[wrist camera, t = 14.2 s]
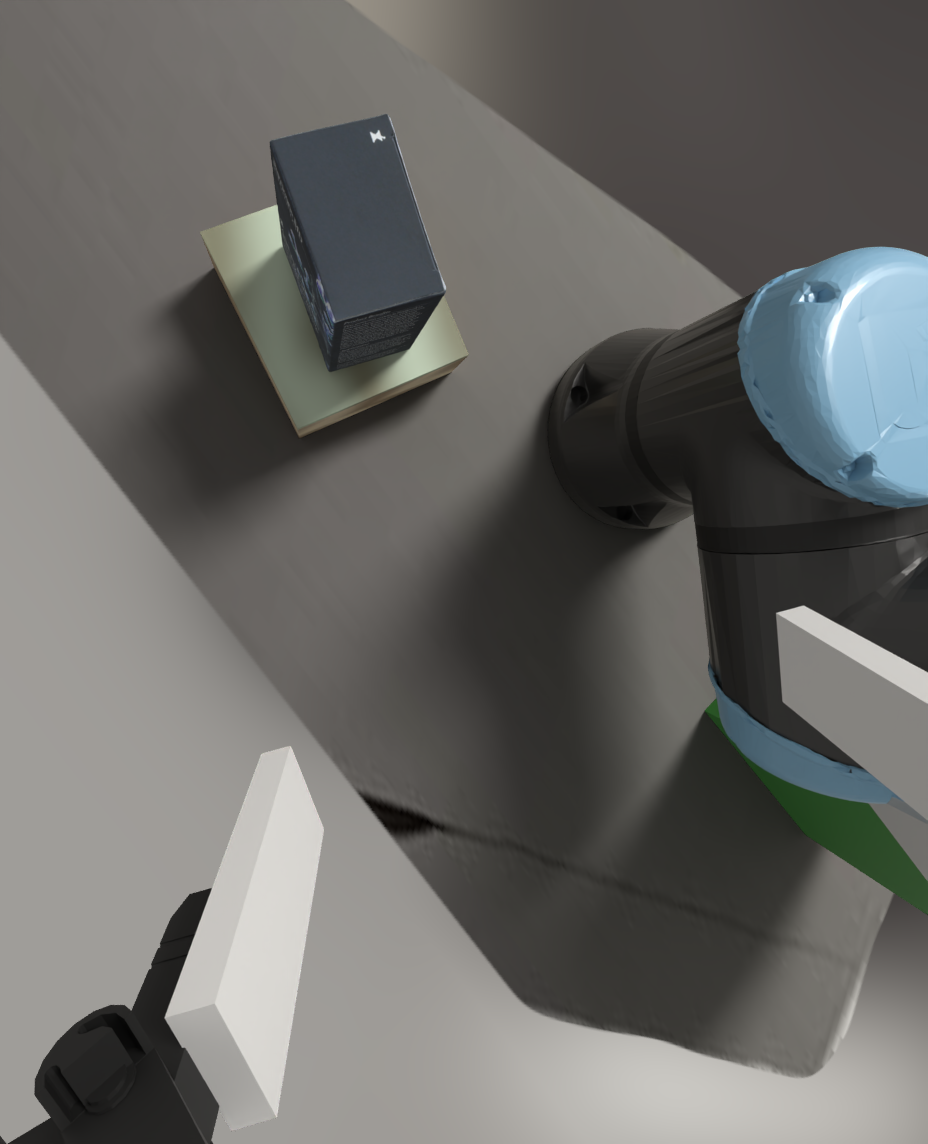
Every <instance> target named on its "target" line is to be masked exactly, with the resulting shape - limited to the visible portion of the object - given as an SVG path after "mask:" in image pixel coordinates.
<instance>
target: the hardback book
mask: <svg viewBox="0 0 928 1144" xmlns="http://www.w3.org/2000/svg"><path fill="white" fill-rule="evenodd" d="M705 712H706V713H707V714H708V716H709V717H710V718H711V719H712V720H713V722H714V723H715V724H716V725H717V727H718V728H719V729H720V730H721V732H722V733H723V734H724V735H725V736H726V738H727V739H728V740H729V741H730V743H731V744H732V745H733V746H734V748H735V749H736V750H737V751H738V752H739V754H740V755H741V756H742V757H743V759H744V760H745V761H746V762H747V763H748V765H749V766H750V767H751V768H752V770H753V771H754V772H755V773H756V775H757V776H758V777H759V778H760V779H761V781H762V782H763V783H764V784H765V786H766V787H767V788H768V789H769V791H770V792H771V793H772V794H773V795H774V797H775V798H776V799H777V800H778V802H779V803H780V804H781V805H782V806H783V808H784V809H785V810H786V811H787V813H788V814H789V815H790V816H791V818H792V819H793V820H794V821H795V822H796V824H797V825H798V826H799V827H800V829H801V830H802V831H803V832H804V834H805V835H806V836H808V837H810V838H811V839H813V840H814V841H816V842H817V843H819V844H820V845H822V846H823V847H825V848H826V849H828V850H829V851H831V852H832V853H834V854H835V855H837V856H838V857H840V858H841V859H843V860H845V861H846V862H848V863H849V864H851V865H852V866H854V867H855V868H857V869H858V870H860V871H861V872H863V873H864V874H866V875H867V876H869V877H870V878H872V879H873V880H875V881H876V882H878V883H880V884H881V885H883V886H884V887H886V888H887V889H889V890H890V891H892V892H893V893H895V894H896V895H898V896H899V897H901V898H903V899H904V900H906V901H907V902H909V903H910V904H912V905H913V906H915V907H916V908H918V909H919V910H921V911H922V912H924V913H925V914H927V915H928V820H926V819H925V818H924V817H923V816H922V815H920V814H919V813H918V812H917V811H915V810H914V809H913V808H912V807H911V806H909V805H908V804H907V803H906V802H903V801H901V800H899V799H897V798H893V797H891V800H890V801H889V802H888V803H887V804H874V803H864V802H856V801H849V800H844V799H839V798H835V797H831V796H827V795H823V794H820V793H817V792H813V791H810V790H807V789H804V788H802V787H799V786H796V785H794V784H792V783H789V782H787V781H785V780H783V779H781V778H779V777H777V776H775V775H773V774H771V773H769V772H767V771H766V770H764V769H762V768H761V767H759V766H758V765H756V764H755V763H754V762H752V761H751V760H750V759H748V758H747V757H746V756H745V755H744V754H743V753H742V752H741V751H740V749H739V748H738V747H737V745H736V744H735V743H734V742H733V741H732V740H731V739H730V738H729V737H728V735H727V734H726V732H725V730H724V728H723V725H722V723H721V719H720V715H719V709H718V703H717V698H716V699H715V700H714V701H713V702H712V703H711V704H710V706H709V707H708V708H707V709H706V710H705Z"/></svg>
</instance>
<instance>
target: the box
mask: <svg viewBox="0 0 928 1144" xmlns="http://www.w3.org/2000/svg"><path fill="white" fill-rule="evenodd" d="M270 149H271V160H272V167H273V176H274V184H275V191H276V199H277V206H278V214H279V221H280V229H281V237H282V246H283V248H284V251H285V253H286V256H287V259H288V261H289V264H290V267H291V270H292V272H293V275H294V278H295V280H296V283H297V286H298V289H299V291H300V294H301V297H302V299H303V302H304V305H305V308H306V310H307V314H308V316H309V318H310V322H311V324H312V327H313V330H314V332H315V335H316V338H317V340H318V343H319V347H320V349H321V352H322V355H323V358H324V361H325V364H326V367H327V369H328V371H329V372H333V371H337V370H340V369H343V368H347V367H350V366H354V365H357V364H361V363H364V362H367V361H371V360H374V359H378V358H381V357H385V356H388V355H392V354H395V353H399V352H402V351H406V350H409V349H410V348H411V346H412V345H413V343H414V342H415V340H416V339H417V337H418V335H419V334H420V332H421V330H422V329H423V328H424V326H425V324H426V323H427V321H428V319H429V318H430V316H431V315H432V313H433V312H434V310H435V308H436V307H437V306H438V304H439V302H440V301H441V299H442V297H443V296H444V294H445V292H446V286H445V283H444V281H443V279H442V276H441V274H440V271H439V268H438V265H437V262H436V260H435V257H434V254H433V251H432V248H431V245H430V242H429V238H428V235H427V233H426V230H425V227H424V224H423V221H422V218H421V215H420V212H419V208H418V205H417V202H416V199H415V196H414V193H413V190H412V186H411V183H410V180H409V177H408V174H407V171H406V167H405V164H404V161H403V158H402V154H401V151H400V148H399V145H398V141H397V138H396V135H395V131H394V127H393V124H392V121H391V118H390V116H388V114H383V115H379V116H376V117H371V118H367V119H363V120H359V121H354V122H349V123H344V124H340V125H335V126H330V127H326V128H321V129H316V130H311V131H307V132H302V133H298V134H294V135H290V136H286V137H282V138H278V139H275V140H271V141H270Z"/></svg>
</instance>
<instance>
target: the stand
mask: <svg viewBox="0 0 928 1144" xmlns="http://www.w3.org/2000/svg"><path fill="white" fill-rule="evenodd" d="M200 234H201V236H202V238H203V241H204V243H205V246H206V248H207V251H208V253H209V256H210V258H211V261H212V263H213V266H214V268H215V270H216V272H217V274H218V276H219V278H220V280H221V282H222V284H223V286H224V288H225V290H226V292H227V294H228V296H229V298H230V300H231V302H232V304H233V306H234V308H235V310H236V312H237V314H238V316H239V318H240V320H241V322H242V324H243V326H244V328H245V330H246V332H247V334H248V336H249V338H250V340H251V342H252V344H253V346H254V348H255V350H256V352H257V354H258V356H259V358H260V360H261V362H262V364H263V366H264V368H265V370H266V372H267V374H268V376H269V378H270V380H271V382H272V384H273V386H274V388H275V390H276V392H277V394H278V396H279V398H280V400H281V402H282V404H283V406H284V408H285V410H286V412H287V414H288V416H289V418H290V420H291V422H292V424H293V426H294V428H295V430H296V432H297V434H298V436H299V438H302V437H304V436H306V435H308V434H311V433H313V432H315V431H318V430H320V429H322V428H324V427H327V426H329V425H331V424H334V423H336V422H338V421H341V420H343V419H345V418H347V417H350V416H352V415H354V414H357V413H359V412H361V411H364V410H366V409H368V408H370V407H373V406H375V405H377V404H380V403H382V402H384V401H387V400H389V399H391V398H393V397H396V396H398V395H400V394H403V393H405V392H407V391H409V390H412V389H414V388H416V387H419V386H421V385H423V384H426V383H428V382H430V381H432V380H435V379H437V378H439V377H442V376H444V375H446V374H449V373H451V372H452V371H453V370H454V369H455V368H456V367H457V366H458V365H459V364H460V363H461V362H462V361H463V360H464V359H465V358H466V357H467V356H468V355H469V354H468V351H467V349H466V347H465V344H464V342H463V340H462V337H461V335H460V332H459V330H458V328H457V325H456V323H455V321H454V318H453V316H452V314H451V311H450V309H449V307H448V304H447V302H446V299H445V297H444V296H443V297H442V299H441V301H440V302H439V304H438V306H437V307H436V308H435V310H434V312H433V313H432V315H431V316H430V318H429V319H428V321H427V323H426V324H425V326H424V328H423V329H422V330H421V332H420V334H419V335H418V337H417V339H416V340H415V342H414V343H413V345H412V346H411V348H410V349H409V350H406V351H402V352H399V353H395V354H392V355H388V356H385V357H381V358H378V359H374V360H371V361H367V362H364V363H361V364H357V365H354V366H350V367H347V368H343V369H340V370H337V371H333V372H329V371H328V369H327V367H326V364H325V361H324V358H323V355H322V352H321V349H320V347H319V343H318V340H317V338H316V335H315V332H314V330H313V327H312V324H311V322H310V318H309V316H308V314H307V310H306V308H305V305H304V302H303V299H302V297H301V294H300V291H299V289H298V286H297V283H296V280H295V278H294V275H293V272H292V270H291V267H290V264H289V261H288V259H287V256H286V253H285V251H284V248H283V246H282V237H281V229H280V221H279V214H278V206H277V205H275V206H272V207H269V208H266V209H264V210H261V211H258V212H255V213H252V214H250V215H247V216H244V217H241V218H238V219H236V220H233V221H230V222H227V223H224V224H221V225H219V226H216V227H213V228H210V229H207V230H205V231H202V232H200Z"/></svg>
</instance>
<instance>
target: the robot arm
mask: <svg viewBox="0 0 928 1144" xmlns="http://www.w3.org/2000/svg"><path fill="white" fill-rule="evenodd" d="M548 443H549V450H550V455H551V460H552V463H553V466H554V469H555V472H556V474H557V476H558V479H559V481H560V482H561V484H562V486H563V488H564V489H565V491H566V492H567V494H568V495H569V496H570V498H571V499H572V500H573V501H574V502H575V503H576V504H577V505H578V506H579V507H580V508H581V509H582V510H583V511H585V512H586V513H587V514H589V515H590V516H592V517H594V518H595V519H597V520H599V521H601V522H604V523H606V524H609V525H612V526H616V527H621V528H634V529H653V528H659V527H664V526H668V525H671V524H674V523H677V522H679V521H681V520H683V519H685V518H687V517H689V516H691V515H693V514H694V522H695V528H696V536H697V548H698V556H699V564H700V573H701V582H702V591H703V601H704V610H705V619H706V628H707V638H708V647H709V656H710V658H709V664H708V672H709V677H710V679H711V682H712V684H713V686H714V688H715V692H716V698H717V703H718V709H719V715H720V719H721V723H722V725H723V728H724V730H725V732H726V734H727V735H728V737H729V738H730V739H731V740H732V741H733V742H734V743H735V744H736V745H737V747H738V748H739V749H740V751H741V752H742V753H743V754H744V755H745V756H746V757H747V758H748V759H750V760H751V761H752V762H754V763H755V764H756V765H758V766H759V767H761V768H762V769H764V770H766V771H767V772H769V773H771V774H773V775H775V776H777V777H779V778H781V779H783V780H785V781H787V782H789V783H792V784H794V785H796V786H799V787H802V788H804V789H807V790H810V791H813V792H817V793H820V794H823V795H827V796H831V797H835V798H839V799H844V800H849V801H856V802H864V803H874V804H887V803H888V802H889V801H890V800H891V797H893V798H897V799H899V800H901V801H903V802H906V803H907V804H908V805H909V806H911V807H912V808H913V809H914V810H915V811H917V812H918V813H919V814H920V815H922V816H923V817H924V818H925V819H926V820H928V257H925V256H923V255H921V254H918V253H915V252H912V251H908V250H903V249H899V248H890V247H872V248H862V249H857V250H852V251H849V252H845V253H842V254H839V255H836V256H834V257H832V258H829V259H827V260H825V261H822V262H820V263H817V264H815V265H813V266H810V267H808V268H801V269H796V270H793V271H789V272H787V273H784V274H783V275H782V276H780V277H778V278H775V279H773V280H771V281H770V282H768V283H767V284H766V285H764V286H763V287H761V288H760V289H759V290H757V291H756V292H753V293H752V294H750V295H748V296H746V297H744V298H742V299H740V300H738V301H736V302H734V303H732V304H730V305H728V306H726V307H724V308H722V309H720V310H718V311H716V312H714V313H712V314H710V315H708V316H706V317H704V318H702V319H700V320H698V321H696V322H694V323H692V324H690V325H688V326H686V327H684V328H682V329H681V330H675V329H655V328H642V329H635V330H630V331H626V332H622V333H619V334H617V335H614V336H612V337H610V338H608V339H606V340H604V341H603V342H601V343H599V344H597V345H596V346H594V347H592V348H591V349H589V350H588V351H587V352H585V353H584V354H583V355H582V356H580V357H579V358H578V359H577V360H576V361H575V362H574V363H573V365H572V366H571V367H570V368H569V369H568V371H567V372H566V374H565V375H564V377H563V378H562V380H561V382H560V384H559V386H558V388H557V390H556V393H555V395H554V398H553V401H552V405H551V409H550V414H549V422H548ZM323 832H324V828H323V825H322V823H321V820H320V818H319V815H318V813H317V811H316V808H315V806H314V803H313V800H312V798H311V796H310V793H309V790H308V788H307V785H306V783H305V780H304V778H303V775H302V773H301V770H300V768H299V765H298V763H297V760H296V758H295V756H294V753H293V750H292V748H291V746H288V747H284V748H281V749H277V750H274V751H269V752H266V753H262V754H261V757H260V759H259V762H258V765H257V767H256V770H255V773H254V776H253V778H252V781H251V784H250V787H249V789H248V792H247V795H246V797H245V800H244V803H243V806H242V808H241V811H240V814H239V816H238V819H237V822H236V825H235V827H234V830H233V833H232V836H231V838H230V841H229V844H228V847H227V849H226V852H225V855H224V857H223V860H222V863H221V865H220V868H219V871H218V874H217V876H216V879H215V882H214V885H213V887H212V888H210V889H207V890H203V891H200V892H196V893H193V894H189V896H188V897H187V898H186V899H185V901H184V902H183V904H182V905H181V906H180V907H179V908H178V910H177V911H176V912H175V914H174V915H173V916H172V918H171V919H170V921H169V924H168V926H167V928H166V931H165V933H164V935H163V938H162V940H161V942H160V948H158V950H157V952H156V954H155V957H154V959H153V961H152V964H151V965H152V968H151V969H149V971H148V973H147V975H146V978H145V980H144V983H143V985H142V987H141V990H140V992H139V994H138V997H137V999H136V1001H135V1004H134V1006H133V1009H132V1011H131V1010H130V1009H128V1008H127V1007H126V1006H125V1005H110V1006H107V1007H104V1008H102V1009H99V1010H96V1011H94V1012H92V1013H91V1014H89V1015H88V1016H86V1017H85V1018H83V1019H82V1020H80V1021H79V1022H77V1023H76V1024H74V1025H73V1026H72V1027H71V1028H70V1029H69V1030H68V1031H67V1032H66V1033H65V1034H64V1035H63V1036H62V1037H61V1038H60V1039H59V1040H58V1041H57V1042H56V1044H55V1045H54V1046H53V1048H52V1049H51V1050H50V1052H49V1053H48V1055H47V1056H46V1057H45V1059H44V1060H43V1062H42V1065H41V1067H40V1069H39V1072H38V1074H37V1076H36V1078H35V1096H36V1098H37V1099H38V1100H39V1102H40V1103H41V1105H42V1106H43V1107H44V1109H45V1110H46V1111H47V1112H48V1114H49V1115H50V1117H51V1118H50V1119H48V1120H46V1121H45V1122H43V1123H42V1124H40V1125H38V1126H36V1127H35V1128H33V1129H31V1130H30V1131H28V1132H26V1133H25V1134H23V1135H21V1136H20V1137H18V1138H16V1139H15V1140H13V1141H11V1142H10V1143H8V1144H213V1143H212V1141H211V1139H212V1135H213V1131H214V1126H215V1123H216V1119H217V1114H218V1110H219V1111H220V1113H221V1115H222V1116H223V1118H224V1120H225V1121H226V1123H227V1125H228V1126H229V1128H230V1130H231V1131H234V1130H238V1129H241V1128H244V1127H248V1126H251V1125H254V1124H258V1123H262V1122H265V1121H268V1120H272V1119H275V1118H277V1113H278V1108H279V1101H280V1096H281V1089H282V1083H283V1077H284V1071H285V1065H286V1059H287V1053H288V1046H289V1040H290V1034H291V1028H292V1022H293V1015H294V1009H295V1004H296V998H297V992H298V985H299V979H300V973H301V967H302V961H303V955H304V948H305V942H306V936H307V930H308V924H309V918H310V911H311V906H312V900H313V893H314V887H315V881H316V875H317V869H318V863H319V857H320V851H321V844H322V839H323ZM0 1144H6V1143H5V1141H4V1140H3V1139H2V1138H1V1136H0Z"/></svg>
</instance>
